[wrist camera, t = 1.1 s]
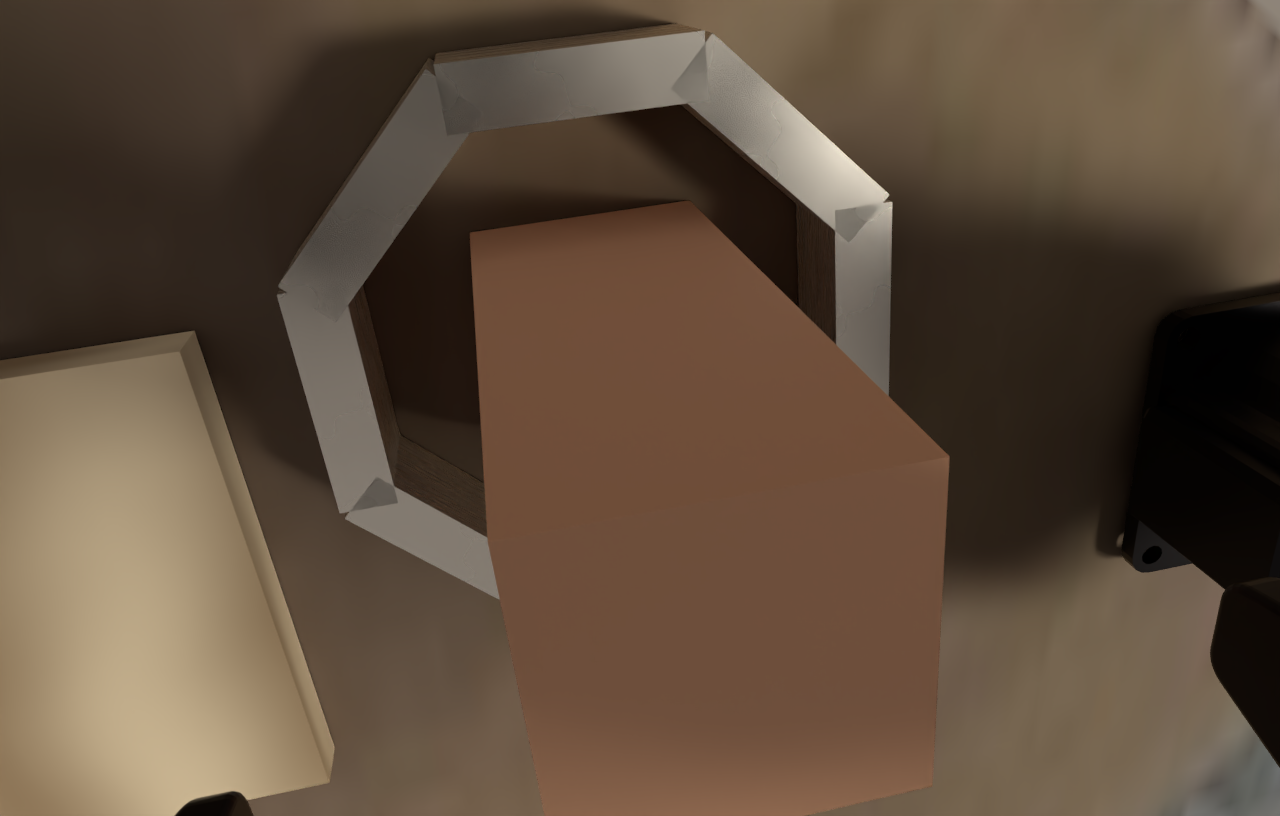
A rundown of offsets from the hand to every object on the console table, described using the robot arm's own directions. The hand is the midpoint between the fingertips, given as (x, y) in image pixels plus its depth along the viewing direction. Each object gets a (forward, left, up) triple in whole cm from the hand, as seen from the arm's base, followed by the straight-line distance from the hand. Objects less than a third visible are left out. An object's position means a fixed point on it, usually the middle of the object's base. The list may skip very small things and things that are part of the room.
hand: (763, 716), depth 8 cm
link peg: (0, 0, -11) cm, 11 cm away
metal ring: (0, 0, -10) cm, 10 cm away
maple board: (+12, +4, -10) cm, 16 cm away
